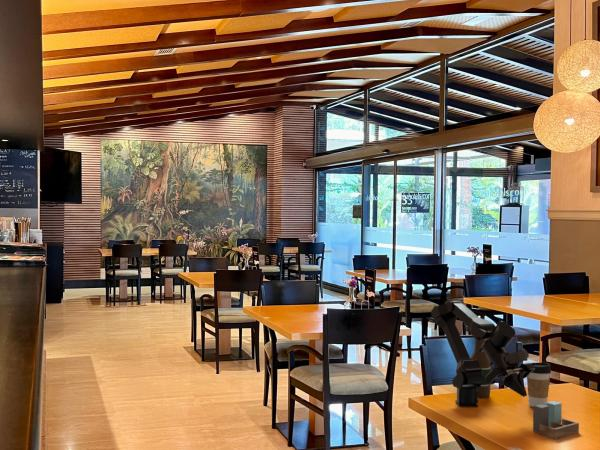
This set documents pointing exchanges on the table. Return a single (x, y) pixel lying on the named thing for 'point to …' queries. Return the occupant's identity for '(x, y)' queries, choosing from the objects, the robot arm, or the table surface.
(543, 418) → the dark gray block
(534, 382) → the coffee cup
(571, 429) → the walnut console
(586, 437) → the table surface
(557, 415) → the pale blue tall block
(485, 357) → the beer bottle
